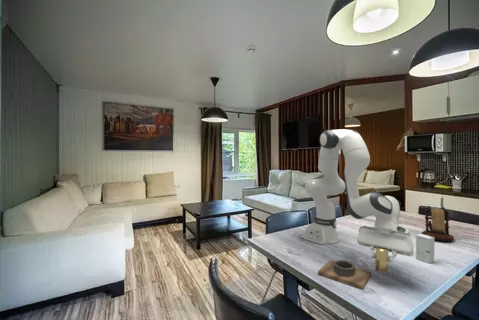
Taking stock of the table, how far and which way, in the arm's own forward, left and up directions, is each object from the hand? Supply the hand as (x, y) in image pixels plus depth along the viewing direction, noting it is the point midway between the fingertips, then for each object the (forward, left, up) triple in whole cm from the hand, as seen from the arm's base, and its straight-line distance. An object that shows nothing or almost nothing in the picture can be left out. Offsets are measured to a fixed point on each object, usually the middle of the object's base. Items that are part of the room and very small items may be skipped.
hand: (381, 259), depth 92 cm
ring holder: (-14, -4, -9) cm, 17 cm away
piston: (0, +1, -5) cm, 5 cm away
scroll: (+16, +76, -10) cm, 79 cm away
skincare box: (+12, +35, -10) cm, 39 cm away
